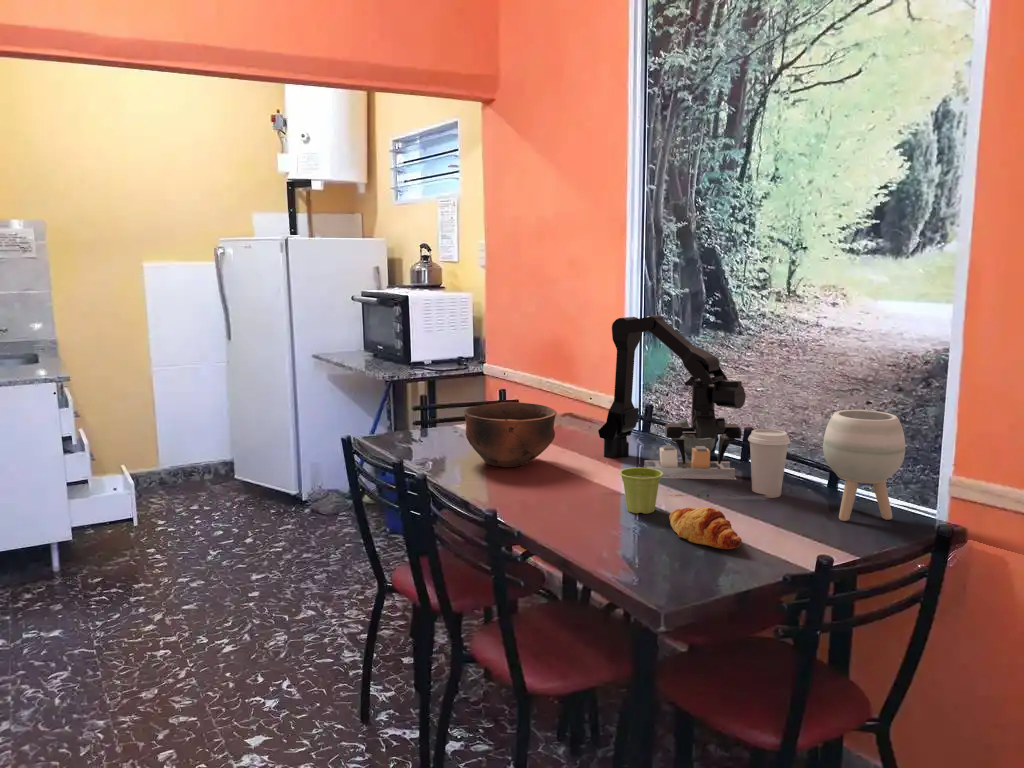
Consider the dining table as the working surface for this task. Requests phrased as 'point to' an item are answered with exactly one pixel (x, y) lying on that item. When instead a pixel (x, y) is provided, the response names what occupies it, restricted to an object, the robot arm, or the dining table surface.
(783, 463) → the coffee cup
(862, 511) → the dining table surface
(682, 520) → the croissant
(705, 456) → the block
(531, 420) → the bowl
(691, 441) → the mortar and pestle
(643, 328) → the robot arm
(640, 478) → the plant pot
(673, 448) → the block
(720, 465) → the grey tray
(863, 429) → the planter
